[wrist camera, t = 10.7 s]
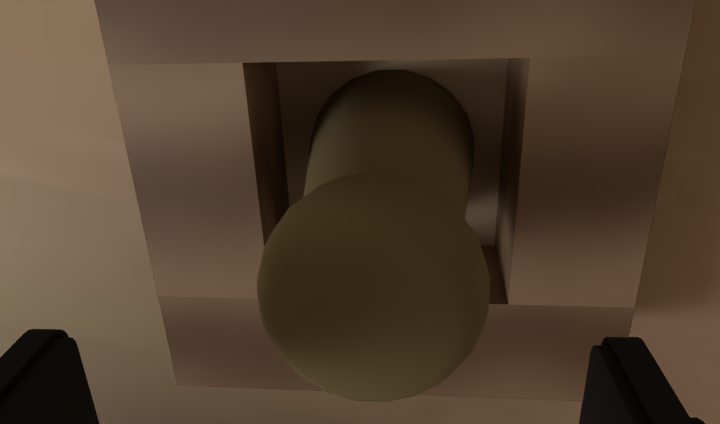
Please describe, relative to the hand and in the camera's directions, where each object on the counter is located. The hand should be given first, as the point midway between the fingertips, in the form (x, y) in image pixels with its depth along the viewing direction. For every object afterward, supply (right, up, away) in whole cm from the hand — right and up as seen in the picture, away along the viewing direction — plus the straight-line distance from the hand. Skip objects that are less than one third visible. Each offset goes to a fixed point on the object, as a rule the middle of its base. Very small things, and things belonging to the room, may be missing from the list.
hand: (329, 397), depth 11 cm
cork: (+2, +6, +11) cm, 13 cm away
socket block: (+2, +6, +12) cm, 13 cm away
